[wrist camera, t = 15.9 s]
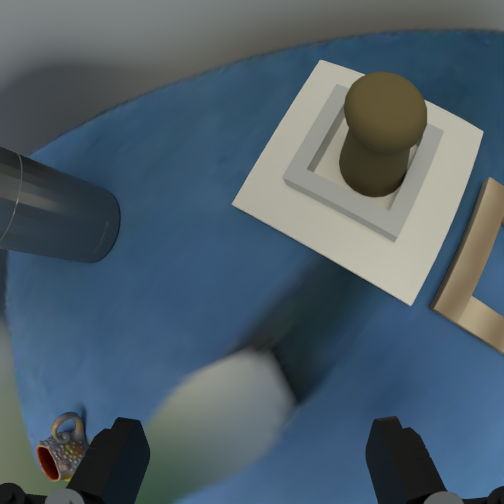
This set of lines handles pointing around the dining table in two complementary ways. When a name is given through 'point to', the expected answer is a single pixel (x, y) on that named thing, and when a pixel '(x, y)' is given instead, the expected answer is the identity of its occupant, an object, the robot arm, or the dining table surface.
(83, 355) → the dining table surface
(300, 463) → the dining table surface
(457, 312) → the tan square frame
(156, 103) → the dining table surface
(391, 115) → the cork
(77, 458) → the mug
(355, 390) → the dining table surface
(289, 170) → the dock
